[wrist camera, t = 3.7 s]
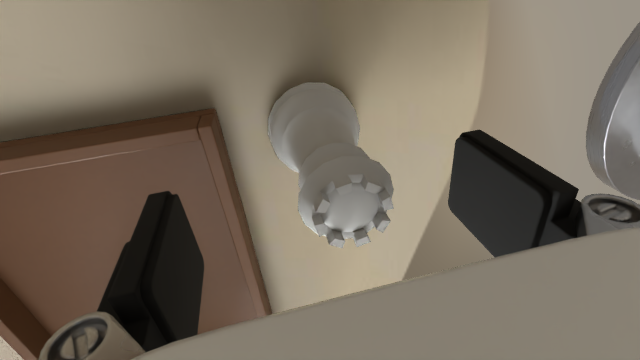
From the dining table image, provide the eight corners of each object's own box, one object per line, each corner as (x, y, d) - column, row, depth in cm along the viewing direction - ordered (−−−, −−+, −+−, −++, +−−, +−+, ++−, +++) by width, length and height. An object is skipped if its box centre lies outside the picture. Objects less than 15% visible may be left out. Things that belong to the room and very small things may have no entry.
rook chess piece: (355, 154, 18) (420, 253, 12) (275, 169, 18) (294, 282, 11) (350, 71, 16) (426, 137, 9) (258, 87, 16) (268, 168, 9)
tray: (215, 107, 16) (211, 125, 14) (291, 380, 28) (294, 410, 27) (-98, 157, 14) (-152, 185, 12) (129, 422, 27) (120, 456, 25)
